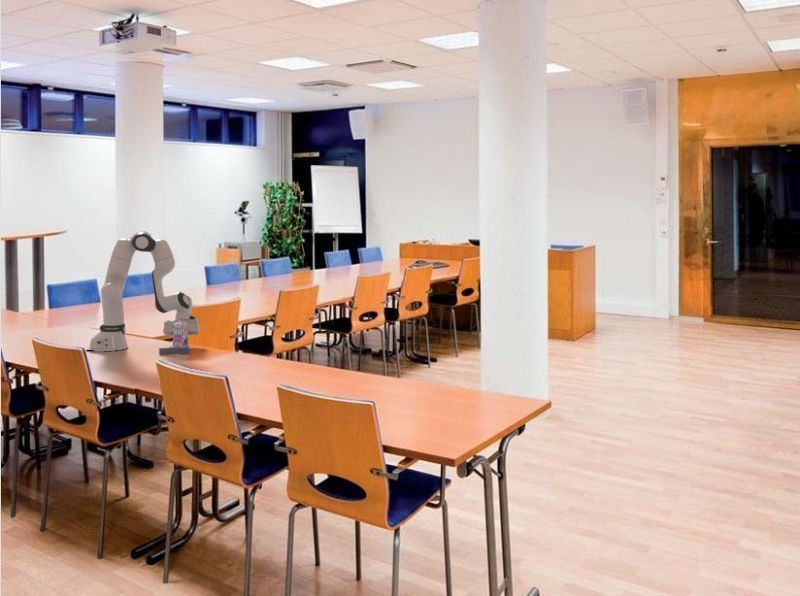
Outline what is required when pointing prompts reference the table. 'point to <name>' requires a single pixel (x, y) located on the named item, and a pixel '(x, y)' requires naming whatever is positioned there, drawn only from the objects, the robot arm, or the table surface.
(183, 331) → the candy box
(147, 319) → the table surface
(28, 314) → the table surface
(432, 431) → the table surface
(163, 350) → the slide guide
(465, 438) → the table surface
